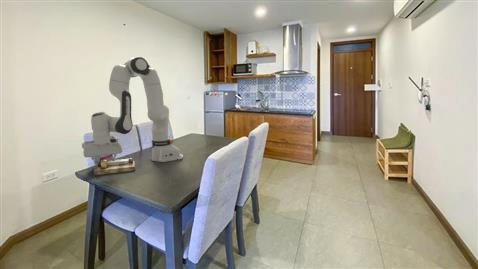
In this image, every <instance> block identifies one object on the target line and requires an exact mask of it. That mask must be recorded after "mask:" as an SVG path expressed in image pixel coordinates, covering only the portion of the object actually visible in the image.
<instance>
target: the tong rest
mask: <svg viewBox="0 0 478 269" xmlns="http://www.w3.org/2000/svg"><path fill="white" fill-rule="evenodd" d="M135 170H136V163H135V160H133V163H128V164H119V165H110V166H107V169H101V167H98V164H97V165H96V167H95V168H94V169H93V175H94V176H98V175H107V174H108V175H109V174H115V173H116V174H117V173H123V172H132V171H133V172H134V171H135Z"/></svg>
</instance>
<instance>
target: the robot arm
mask: <svg viewBox="0 0 478 269" xmlns="http://www.w3.org/2000/svg"><path fill="white" fill-rule="evenodd" d="M136 77H140V79H141V81H142V83H143V88H144V92H145V96H146V104H147V105H146V106H147V108H146V109H147V118H148V119H149V120H150V121H152V126H151V148H152V150H151V151H152V153H151V158H150V160H151V161H152V162H153V161H154V162H160V163H165V162H167V163H168V162H172V161H177V159H178V160H183V158H184V155H183V153H180V152H181V150H180V149H179V148H178V147H177V146H175V145H174V144H173V142H174V141H173V140H172V139H170V138H169V120H170V119H169V118H170V110H169V108H168V106H167V105H165V104H164V92H163V88H162V84H161V80H160V76H159V74H158V72H157V70H156V69H155V68H151V65H149V63H148V61H147V60H146V59H145V58H144V57H142V56H134V57H132V58H130V59H128V60H127V61H126V62H125V63H124V64H123V65H122V64H116V65H114V66H113V68H112V69H111V72H110V77H109V82H108V83H109V84H108V89H109V92H110V94H111V95H112V96H113V97H115V98H116V99H117V100H118V101H119V106H120V107H119V108H120V109H119V111H120V112H119V116H114V115H110V114H108V113H106V112H105V111H100V112H95V113H93V114H92V115H91V119H90V123H91V124H90V125H91V130H92V139H93V140H89V141H84V142H82V144H81V148H82V149H83V157H84V158H91V160H92V161H93V163H94V164H96V163H97V160H95V159H94V156H103V155H111V154H113V158H112V161H115V160H116V157H117V155H119V154H122V153H123V147H122V143H121V142H120V140H119V137H118V136H114V135H111V133H118V134H120V135H126V134H129V133H130V132H131V131H132V129H133V126H134V124H133V119H132V118H133V117H132V94H131V93H130V83H131V82H130V80H131V78H136Z"/></svg>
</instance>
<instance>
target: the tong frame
mask: <svg viewBox="0 0 478 269" xmlns="http://www.w3.org/2000/svg"><path fill="white" fill-rule="evenodd" d="M121 160H128V161H129V163H133V161H134V158H133V157H129V158H124V159H115V161H121ZM111 161H112V160H111ZM111 161H107V162H111ZM98 163H100V162H98Z"/></svg>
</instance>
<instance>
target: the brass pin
mask: <svg viewBox="0 0 478 269" xmlns="http://www.w3.org/2000/svg"><path fill="white" fill-rule="evenodd" d="M101 169H107V160H101Z"/></svg>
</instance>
